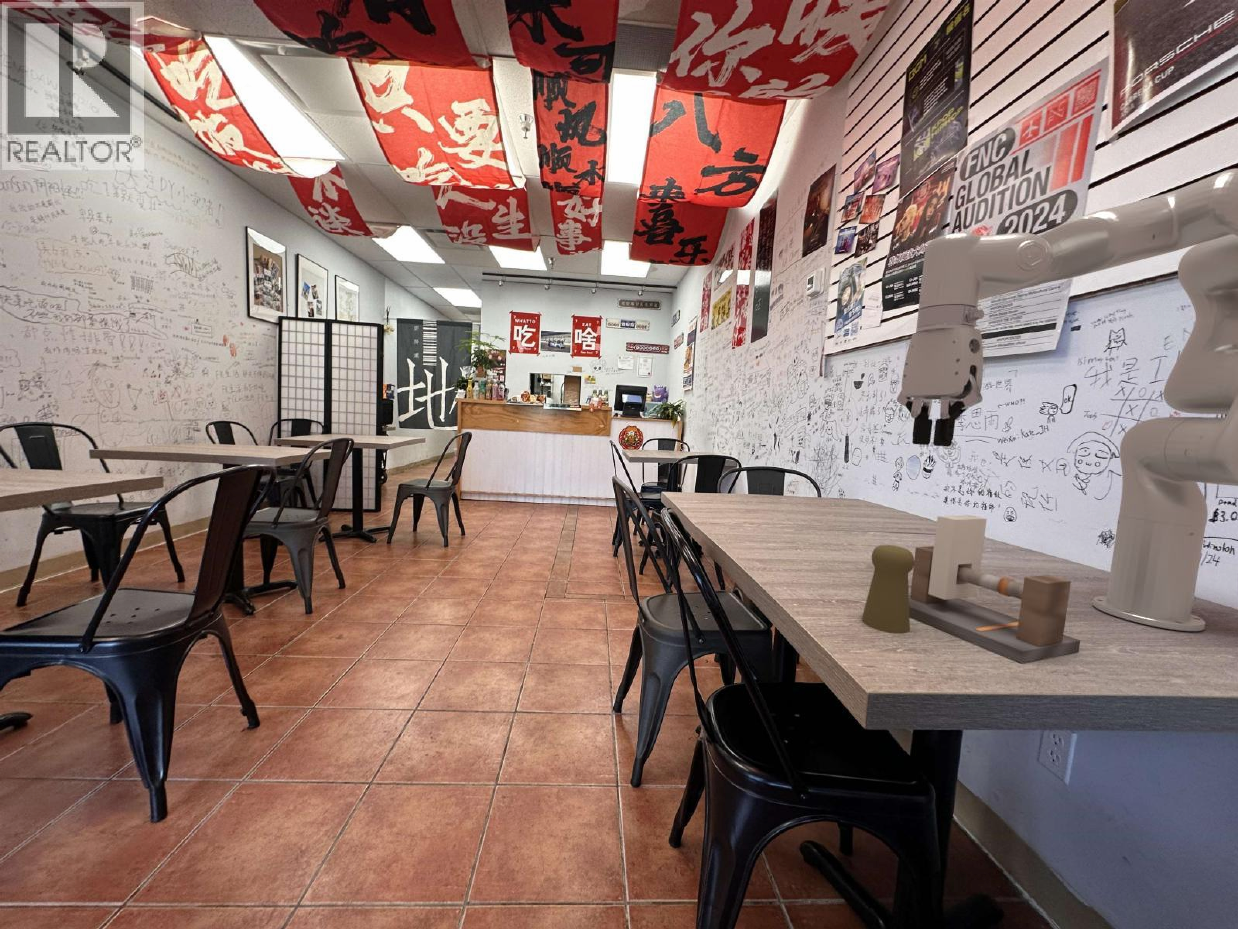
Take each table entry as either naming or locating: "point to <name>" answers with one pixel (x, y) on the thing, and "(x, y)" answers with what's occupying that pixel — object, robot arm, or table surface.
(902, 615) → the olive green pawn
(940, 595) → the collar
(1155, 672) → the table surface
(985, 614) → the rod board
